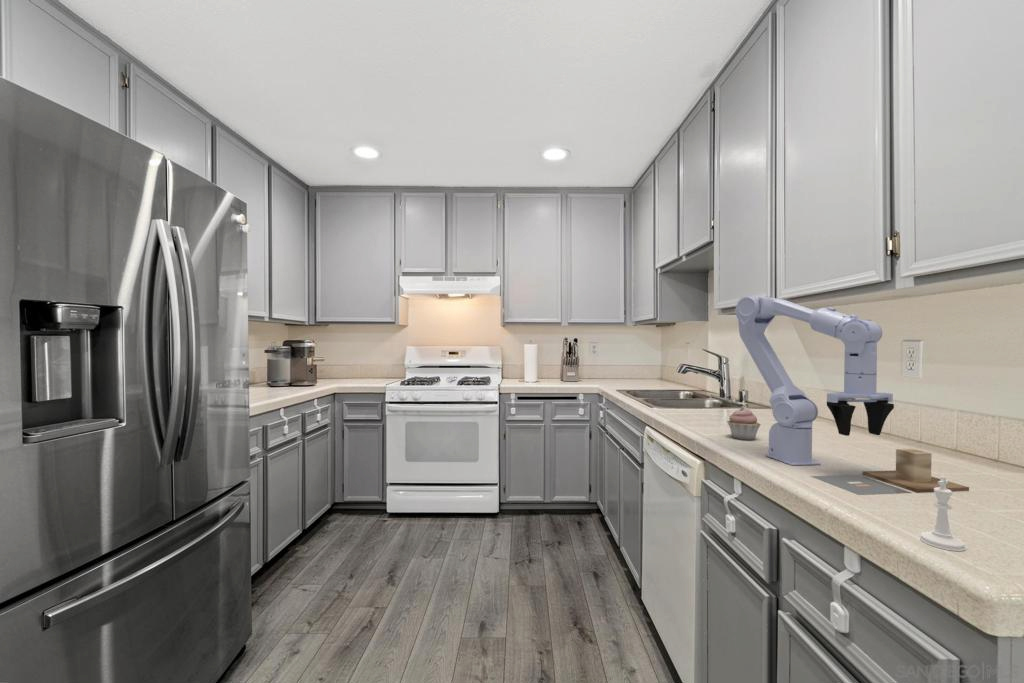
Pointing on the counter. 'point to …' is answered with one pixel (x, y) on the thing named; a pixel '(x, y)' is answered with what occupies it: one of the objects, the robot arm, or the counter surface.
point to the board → (912, 486)
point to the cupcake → (743, 424)
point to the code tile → (860, 484)
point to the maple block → (913, 465)
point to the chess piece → (942, 522)
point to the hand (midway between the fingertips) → (859, 434)
